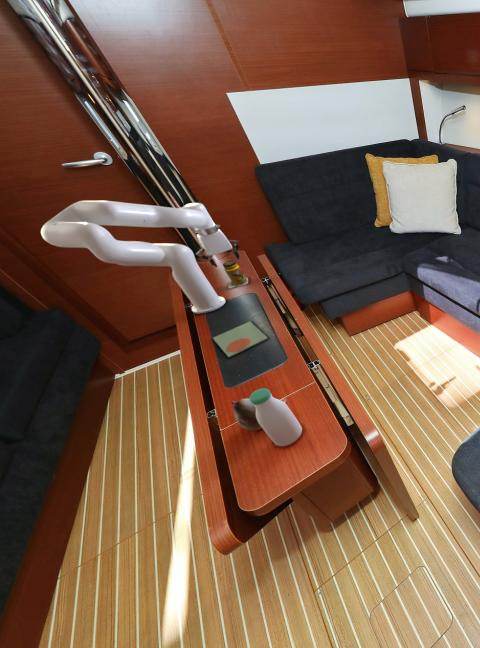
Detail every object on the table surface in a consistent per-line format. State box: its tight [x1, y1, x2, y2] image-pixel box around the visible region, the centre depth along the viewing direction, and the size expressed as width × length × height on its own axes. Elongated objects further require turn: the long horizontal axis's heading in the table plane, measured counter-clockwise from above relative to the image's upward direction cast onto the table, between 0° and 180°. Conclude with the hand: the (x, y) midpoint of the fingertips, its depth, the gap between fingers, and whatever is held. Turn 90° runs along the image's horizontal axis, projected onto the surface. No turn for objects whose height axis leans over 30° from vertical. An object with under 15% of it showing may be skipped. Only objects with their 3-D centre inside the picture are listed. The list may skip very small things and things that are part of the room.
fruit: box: [230, 398, 263, 432], centre depth 100 cm, size 10×9×12 cm
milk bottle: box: [249, 387, 303, 447], centre depth 94 cm, size 8×8×20 cm
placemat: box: [212, 320, 269, 359], centre depth 135 cm, size 18×14×1 cm
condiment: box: [222, 260, 249, 289], centre depth 166 cm, size 7×8×12 cm
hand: (227, 262), depth 163 cm, fingers open, 9 cm apart
